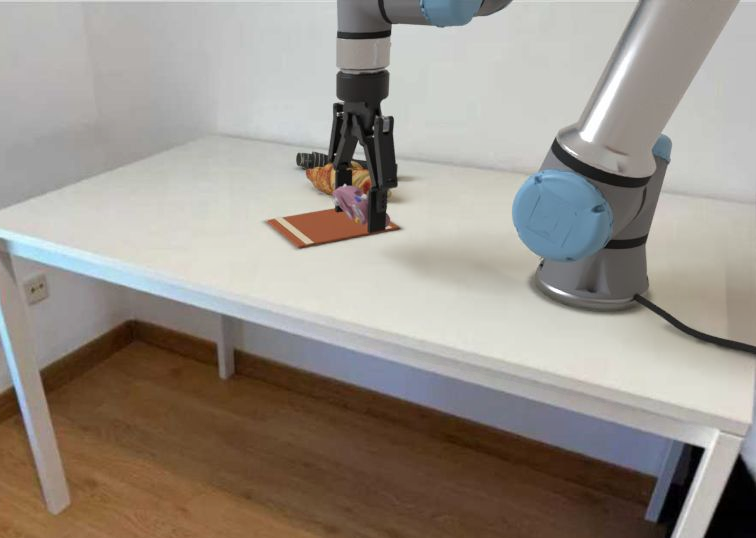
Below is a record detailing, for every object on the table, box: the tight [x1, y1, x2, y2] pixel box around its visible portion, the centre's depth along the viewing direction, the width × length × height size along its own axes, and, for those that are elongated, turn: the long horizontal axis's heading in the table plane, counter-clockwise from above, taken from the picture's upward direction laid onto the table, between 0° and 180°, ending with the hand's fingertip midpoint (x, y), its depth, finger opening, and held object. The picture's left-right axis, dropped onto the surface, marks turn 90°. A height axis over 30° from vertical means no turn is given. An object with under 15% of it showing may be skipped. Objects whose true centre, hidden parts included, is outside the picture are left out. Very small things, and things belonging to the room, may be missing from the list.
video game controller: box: [331, 184, 391, 227], centre depth 107 cm, size 10×5×7 cm, turn 25°
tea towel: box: [267, 207, 400, 249], centre depth 126 cm, size 14×20×1 cm
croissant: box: [305, 161, 392, 199], centre depth 140 cm, size 21×10×8 cm, turn 51°
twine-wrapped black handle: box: [295, 150, 399, 171], centre depth 152 cm, size 4×5×25 cm
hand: (359, 220), depth 108 cm, fingers closed on video game controller, 10 cm apart
